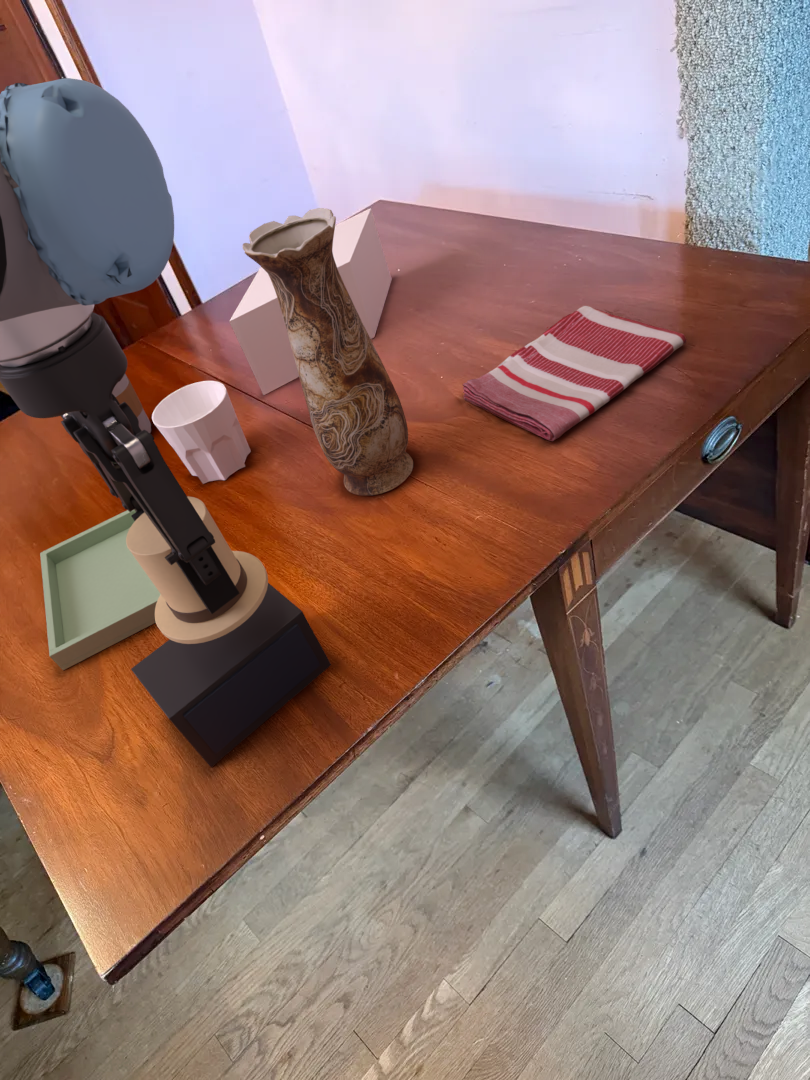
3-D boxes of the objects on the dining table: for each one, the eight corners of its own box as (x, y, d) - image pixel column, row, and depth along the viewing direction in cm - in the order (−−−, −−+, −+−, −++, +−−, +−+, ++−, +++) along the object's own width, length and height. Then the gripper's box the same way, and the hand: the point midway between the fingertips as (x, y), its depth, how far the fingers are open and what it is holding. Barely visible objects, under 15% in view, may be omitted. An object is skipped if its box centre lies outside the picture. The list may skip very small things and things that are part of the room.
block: (224, 388, 117) (188, 317, 109) (353, 277, 134) (331, 208, 126) (305, 402, 107) (273, 325, 99) (433, 280, 125) (414, 206, 116)
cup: (269, 455, 100) (239, 393, 93) (207, 497, 96) (172, 436, 90) (234, 432, 106) (204, 373, 100) (175, 471, 103) (140, 412, 96)
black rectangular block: (212, 769, 66) (170, 720, 61) (172, 717, 71) (130, 668, 66) (333, 666, 71) (303, 612, 65) (287, 625, 76) (256, 572, 71)
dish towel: (461, 401, 97) (456, 384, 95) (587, 315, 104) (585, 298, 102) (554, 447, 85) (551, 428, 83) (689, 347, 92) (689, 327, 90)
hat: (253, 638, 59) (205, 562, 53) (141, 649, 61) (84, 578, 55) (279, 548, 66) (240, 474, 60) (178, 562, 68) (131, 491, 63)
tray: (187, 606, 82) (176, 590, 81) (63, 670, 80) (49, 656, 78) (158, 514, 97) (148, 499, 95) (51, 566, 94) (39, 552, 93)
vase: (343, 511, 87) (238, 268, 67) (331, 460, 95) (235, 230, 75) (427, 481, 87) (347, 229, 67) (409, 433, 95) (332, 195, 75)
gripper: (159, 339, 42) (301, 607, 57) (48, 283, 55) (188, 512, 70) (37, 410, 39) (221, 670, 54) (-48, 333, 52) (119, 560, 67)
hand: (202, 581), depth 62 cm, fingers closed on hat, 7 cm apart
